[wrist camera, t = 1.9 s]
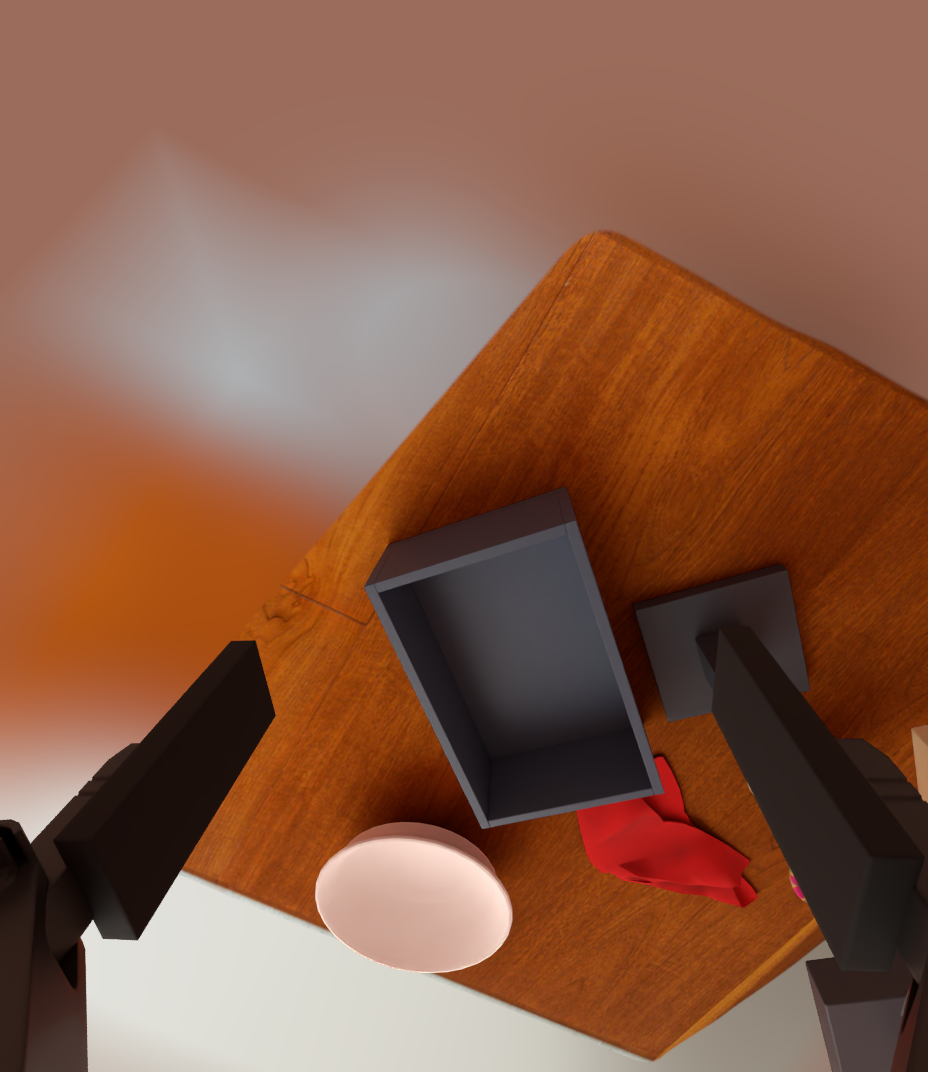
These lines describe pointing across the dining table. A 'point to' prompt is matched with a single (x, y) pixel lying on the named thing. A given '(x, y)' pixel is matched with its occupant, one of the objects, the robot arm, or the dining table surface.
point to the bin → (516, 661)
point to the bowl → (414, 898)
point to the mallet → (921, 758)
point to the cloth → (663, 846)
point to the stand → (687, 690)
